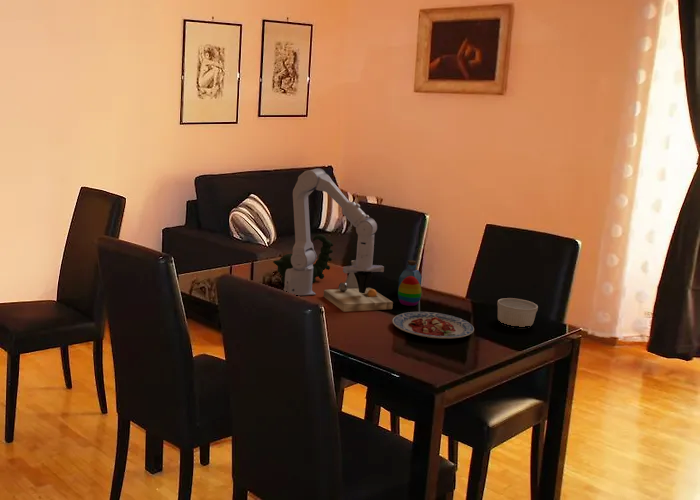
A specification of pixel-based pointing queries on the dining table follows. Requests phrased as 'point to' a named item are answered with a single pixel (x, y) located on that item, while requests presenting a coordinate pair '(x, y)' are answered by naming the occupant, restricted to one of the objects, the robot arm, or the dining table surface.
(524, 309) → the ramekin
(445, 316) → the ceramic plate
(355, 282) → the flask
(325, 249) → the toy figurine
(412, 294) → the decorative egg
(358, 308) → the board
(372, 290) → the ball
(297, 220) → the robot arm
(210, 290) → the dining table surface
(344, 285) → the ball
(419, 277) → the perfume bottle
